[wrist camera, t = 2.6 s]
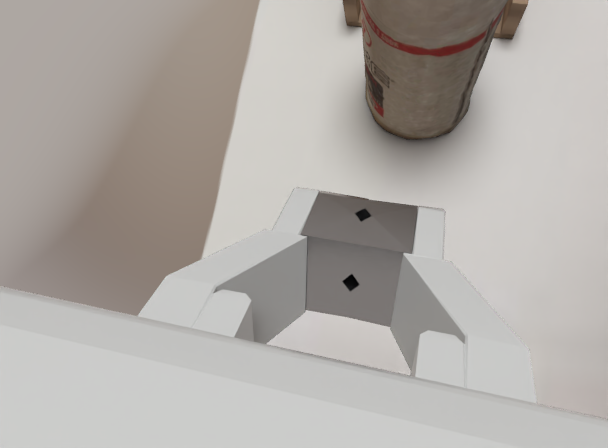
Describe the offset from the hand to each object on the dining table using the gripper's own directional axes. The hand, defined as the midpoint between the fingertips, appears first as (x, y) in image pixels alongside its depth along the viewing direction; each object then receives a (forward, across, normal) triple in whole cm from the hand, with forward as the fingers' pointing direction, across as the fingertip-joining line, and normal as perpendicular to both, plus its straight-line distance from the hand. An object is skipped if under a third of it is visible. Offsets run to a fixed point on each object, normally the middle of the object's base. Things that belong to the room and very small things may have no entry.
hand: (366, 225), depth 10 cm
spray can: (+30, 0, +8) cm, 32 cm away
